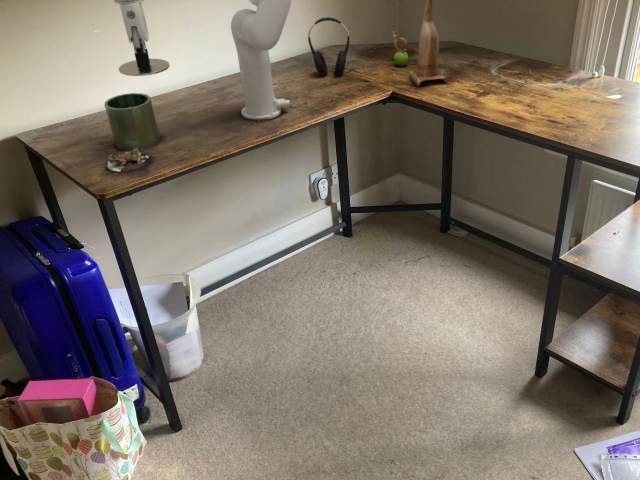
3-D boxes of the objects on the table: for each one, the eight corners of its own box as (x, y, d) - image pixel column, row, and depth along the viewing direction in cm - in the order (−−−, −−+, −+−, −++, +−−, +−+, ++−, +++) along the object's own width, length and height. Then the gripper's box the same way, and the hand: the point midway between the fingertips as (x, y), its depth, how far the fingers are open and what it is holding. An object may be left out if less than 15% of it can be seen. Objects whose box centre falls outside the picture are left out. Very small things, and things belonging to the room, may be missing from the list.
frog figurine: (121, 176, 175) (117, 163, 173) (98, 163, 182) (94, 151, 179) (157, 162, 182) (154, 149, 180) (135, 150, 188) (131, 138, 186)
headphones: (351, 77, 235) (348, 20, 223) (310, 78, 235) (305, 21, 223) (351, 70, 242) (348, 13, 230) (311, 71, 242) (307, 14, 230)
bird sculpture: (436, 73, 237) (439, -22, 218) (449, 83, 228) (453, -14, 209) (407, 77, 235) (408, -19, 215) (419, 87, 226) (420, -11, 206)
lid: (169, 60, 188) (165, 38, 184) (170, 75, 177) (165, 52, 174) (120, 64, 185) (115, 43, 181) (118, 80, 174) (112, 57, 171)
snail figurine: (397, 61, 248) (397, 29, 241) (411, 64, 245) (411, 32, 238) (389, 65, 245) (388, 33, 238) (402, 68, 242) (402, 35, 235)
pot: (160, 130, 199) (150, 91, 192) (159, 147, 190) (149, 106, 182) (117, 135, 197) (106, 95, 189) (114, 153, 187) (102, 111, 180)
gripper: (142, 0, 164) (158, 73, 175) (143, -13, 176) (158, 56, 187) (111, 3, 162) (129, 76, 173) (114, -11, 175) (131, 58, 186)
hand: (143, 65), depth 180 cm, fingers closed on lid, 2 cm apart
